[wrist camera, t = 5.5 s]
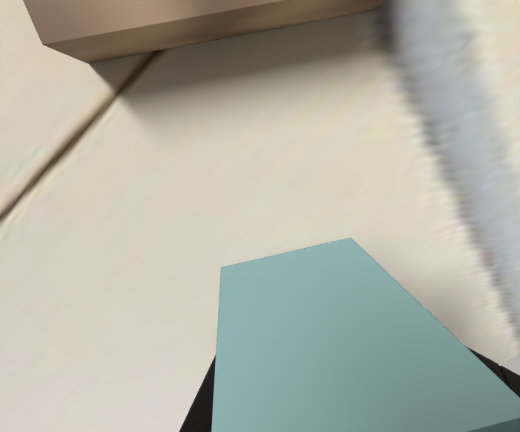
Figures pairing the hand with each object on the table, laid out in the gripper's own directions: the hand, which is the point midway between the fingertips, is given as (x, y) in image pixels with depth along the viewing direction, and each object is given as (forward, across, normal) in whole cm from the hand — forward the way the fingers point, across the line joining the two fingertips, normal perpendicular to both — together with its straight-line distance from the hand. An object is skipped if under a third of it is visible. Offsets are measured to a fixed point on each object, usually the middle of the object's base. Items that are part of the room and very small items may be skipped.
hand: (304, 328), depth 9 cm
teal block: (+1, 0, 0) cm, 1 cm away
